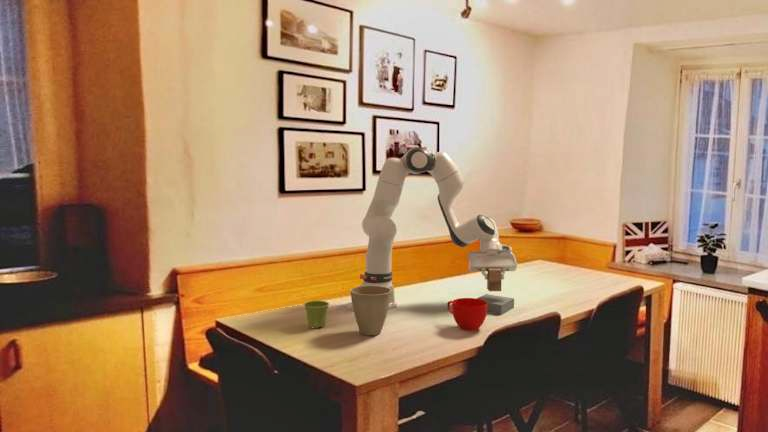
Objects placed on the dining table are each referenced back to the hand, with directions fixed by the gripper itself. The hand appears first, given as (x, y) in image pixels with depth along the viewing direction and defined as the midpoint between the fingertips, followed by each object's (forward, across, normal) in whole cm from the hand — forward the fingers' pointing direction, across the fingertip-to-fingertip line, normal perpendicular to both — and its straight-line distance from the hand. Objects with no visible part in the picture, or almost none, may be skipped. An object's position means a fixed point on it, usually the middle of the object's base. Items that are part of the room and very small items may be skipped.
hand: (494, 278), depth 238 cm
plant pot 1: (+27, -72, -9) cm, 77 cm away
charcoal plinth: (+9, 0, +10) cm, 13 cm away
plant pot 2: (+32, -51, -14) cm, 62 cm away
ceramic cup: (+27, -16, -9) cm, 32 cm away
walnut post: (+3, 0, +4) cm, 5 cm away
